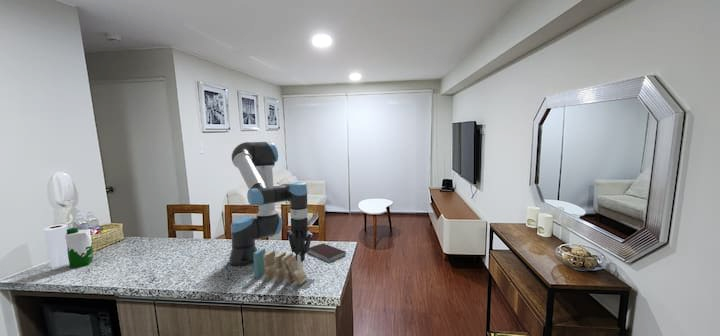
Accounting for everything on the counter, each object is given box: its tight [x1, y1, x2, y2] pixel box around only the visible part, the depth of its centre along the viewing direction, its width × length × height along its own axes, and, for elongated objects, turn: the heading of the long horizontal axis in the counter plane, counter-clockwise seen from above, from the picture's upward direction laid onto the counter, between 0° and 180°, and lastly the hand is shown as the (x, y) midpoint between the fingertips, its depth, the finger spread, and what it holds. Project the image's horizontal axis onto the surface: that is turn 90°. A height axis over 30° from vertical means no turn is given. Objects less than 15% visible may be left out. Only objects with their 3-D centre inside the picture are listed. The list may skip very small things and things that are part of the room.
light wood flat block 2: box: [281, 252, 294, 284], centre depth 129 cm, size 2×6×12 cm, turn 160°
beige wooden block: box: [274, 251, 287, 282], centre depth 131 cm, size 2×6×12 cm, turn 160°
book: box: [307, 243, 347, 263], centre depth 160 cm, size 12×19×3 cm, turn 48°
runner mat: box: [249, 274, 316, 291], centre depth 131 cm, size 31×9×1 cm, turn 70°
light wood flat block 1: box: [264, 249, 276, 280], centre depth 133 cm, size 2×6×12 cm, turn 160°
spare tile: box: [253, 248, 266, 278], centre depth 135 cm, size 2×6×12 cm, turn 160°
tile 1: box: [286, 254, 308, 286], centre depth 128 cm, size 2×6×12 cm, turn 160°
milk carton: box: [64, 227, 94, 269], centre depth 149 cm, size 9×9×20 cm
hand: (300, 267), depth 127 cm, fingers closed
